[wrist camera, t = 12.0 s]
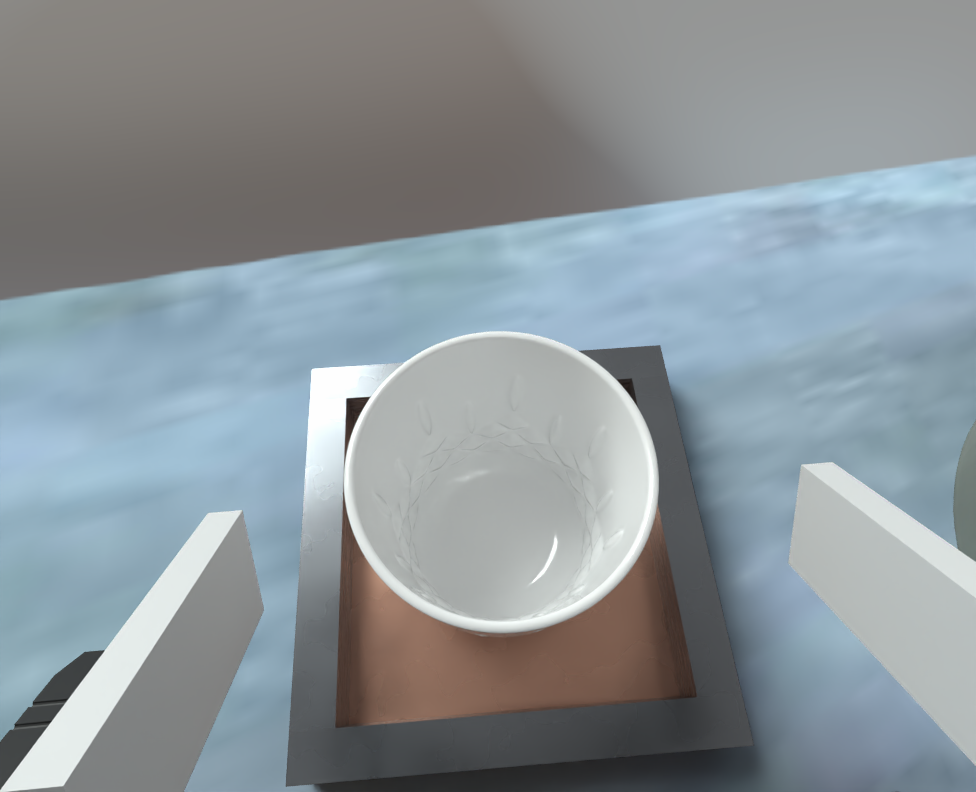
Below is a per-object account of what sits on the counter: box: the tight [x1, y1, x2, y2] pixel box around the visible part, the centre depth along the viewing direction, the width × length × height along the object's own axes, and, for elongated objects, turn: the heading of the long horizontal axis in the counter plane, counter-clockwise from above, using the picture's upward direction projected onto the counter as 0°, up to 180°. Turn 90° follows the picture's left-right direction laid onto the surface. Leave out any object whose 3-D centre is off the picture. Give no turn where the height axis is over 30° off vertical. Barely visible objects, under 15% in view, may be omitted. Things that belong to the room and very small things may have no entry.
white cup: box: [344, 331, 659, 637], centre depth 19 cm, size 8×8×10 cm
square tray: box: [286, 345, 754, 787], centre depth 23 cm, size 15×15×2 cm
